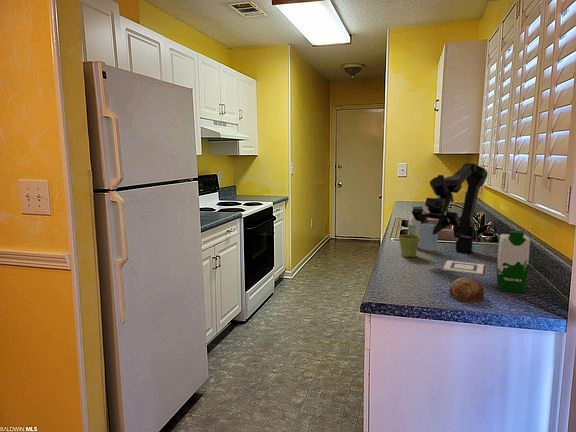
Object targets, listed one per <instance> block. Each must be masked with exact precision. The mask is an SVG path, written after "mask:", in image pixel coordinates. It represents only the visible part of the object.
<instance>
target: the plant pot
mask: <svg viewBox="0 0 576 432" xmlns="http://www.w3.org/2000/svg"><path fill="white" fill-rule="evenodd" d="M397 237H398V238H399V239H398V240H399V245H400V253H401V254H400V255H401V256H402V257H405V258H410V257H411V258H414V257H416V256H417V252H418V248H417V247H418V242H419V239H420V236H417V235H408V234H399V235H398V236H397Z"/></svg>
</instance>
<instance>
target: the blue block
mask: <svg viewBox="0 0 576 432" xmlns="http://www.w3.org/2000/svg"><path fill="white" fill-rule="evenodd" d="M436 225H437V223H433V222H431V223H430V222H429V223H424V224H420V245H419V248H418V249H420V250H425V251H434V250H437V249H438V238H439V232H438V233H436V234H435V235H434V234H433V231H434V229H435V227H436Z"/></svg>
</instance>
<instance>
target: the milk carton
mask: <svg viewBox="0 0 576 432" xmlns="http://www.w3.org/2000/svg"><path fill="white" fill-rule="evenodd" d="M524 234H525V232H524V231H522V230H509V233H508V234H507V233H505V234H504V233H501V234H499V241H498V250H497V261H496V262H497V263H496V281H497V282H496V284H497V286H498V289H499V291H500V292H506V293H517V294H518V293H519V294H525V291H526V286H527V285H526V284H527V280H528V269H529V263H530V262H529V261H530V260H529V259H530V248H531V245H530V244H531V239H530V238H529V237H528V236H526V235H524Z"/></svg>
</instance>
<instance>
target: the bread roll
mask: <svg viewBox="0 0 576 432" xmlns="http://www.w3.org/2000/svg"><path fill="white" fill-rule="evenodd" d="M484 292H485V291H484V288H483V287H482V285H481V284H480V283H479V282H478V281H477V280H475V279H473V278H470V277H459V278H456V279H455V280H453V282H451V284H450V287H449V294H448V296H450V297H451V298H453V299H456V300H458V301H460V302H461V301H462V302H466V301H467V302H466V303H468V302H469V303H474V302H480V301H482V299H483V298H484V296H485V293H484Z"/></svg>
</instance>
